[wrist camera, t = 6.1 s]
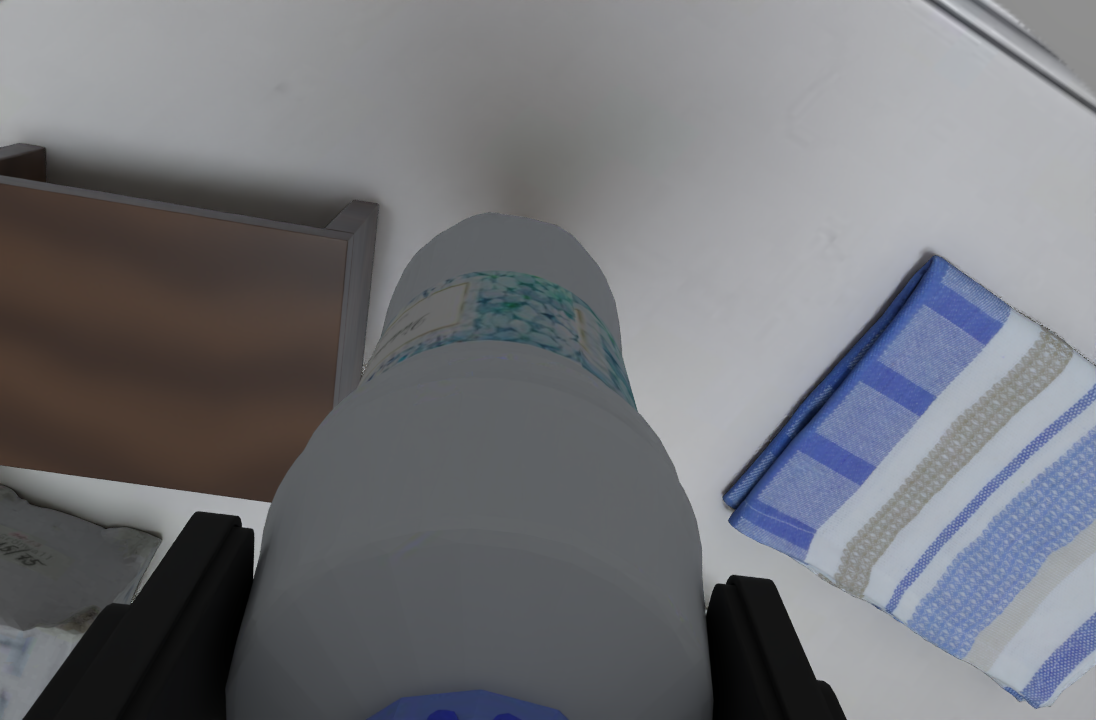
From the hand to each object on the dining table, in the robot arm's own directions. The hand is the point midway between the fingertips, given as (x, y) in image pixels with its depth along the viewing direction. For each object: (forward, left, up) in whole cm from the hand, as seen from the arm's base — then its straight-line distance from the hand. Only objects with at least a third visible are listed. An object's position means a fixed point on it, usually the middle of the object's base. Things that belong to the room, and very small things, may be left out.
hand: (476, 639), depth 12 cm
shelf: (+7, -14, -30) cm, 33 cm away
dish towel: (+11, +27, -30) cm, 41 cm away
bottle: (0, 0, -15) cm, 15 cm away
